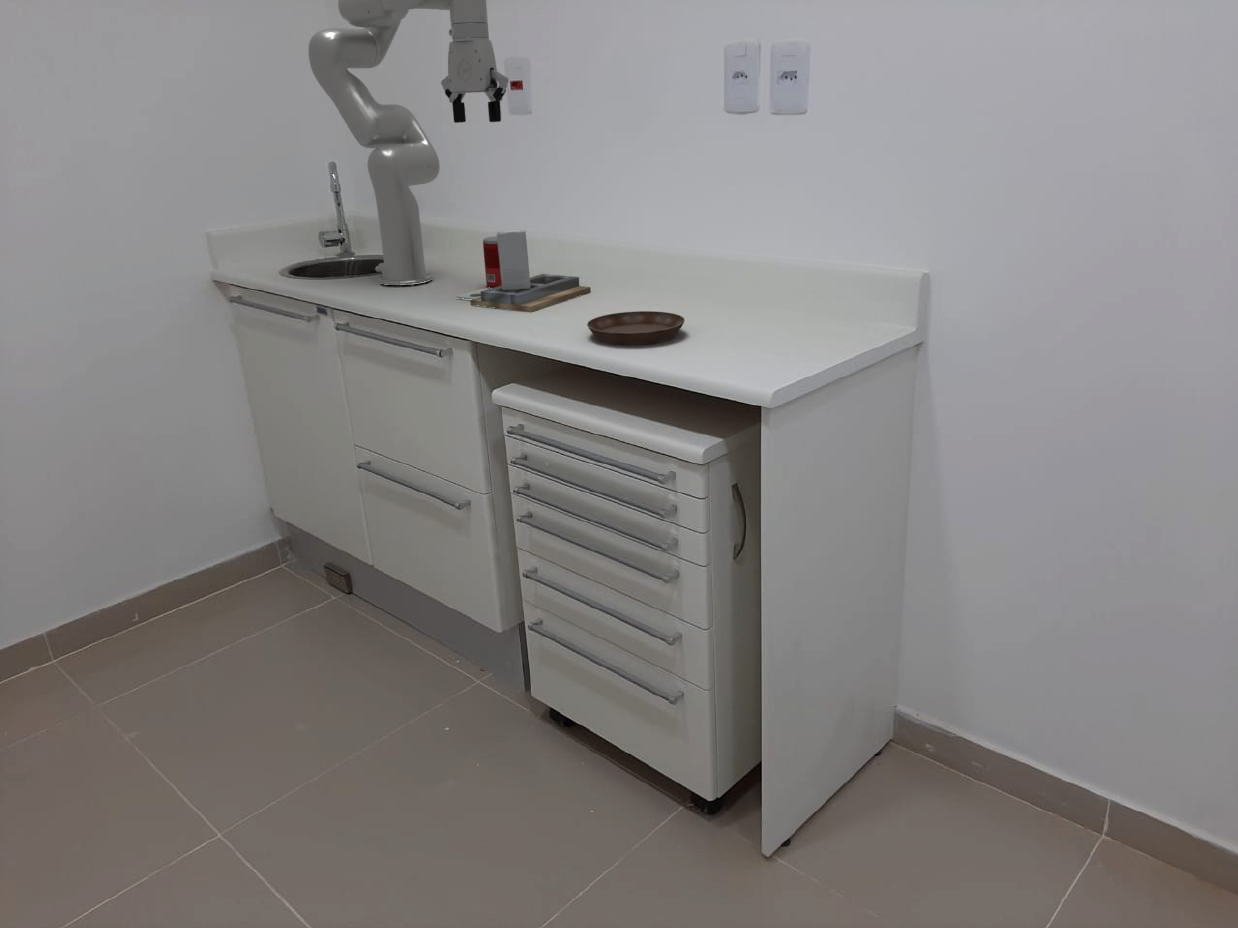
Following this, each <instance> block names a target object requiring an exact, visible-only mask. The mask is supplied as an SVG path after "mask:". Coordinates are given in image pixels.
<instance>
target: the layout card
mask: <svg viewBox="0 0 1238 928" xmlns="http://www.w3.org/2000/svg"><path fill="white" fill-rule="evenodd" d="M488 289H489V288H488V287H487V288H483V289H478V290H474V291H471V292H467V293H464V294H463V293H462V294H459V295H456V296H455V297H457V298H464V299H475V298H479V297H481V293H480V292H481V291H485V290H488Z"/></svg>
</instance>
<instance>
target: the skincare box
mask: <svg viewBox="0 0 1238 928" xmlns="http://www.w3.org/2000/svg"><path fill="white" fill-rule="evenodd" d="M526 232H527V230H526V229H525V228H521V229H520V228H518V229H517V228H516V229H501V230H500V229H499V230H497V232H496V236H497V242H498V252H499V262H500V272H501V282H502V290H517V289H530V277H531V276H530V267H529V254H528V244H527V243H528V242H527V233H526Z"/></svg>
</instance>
